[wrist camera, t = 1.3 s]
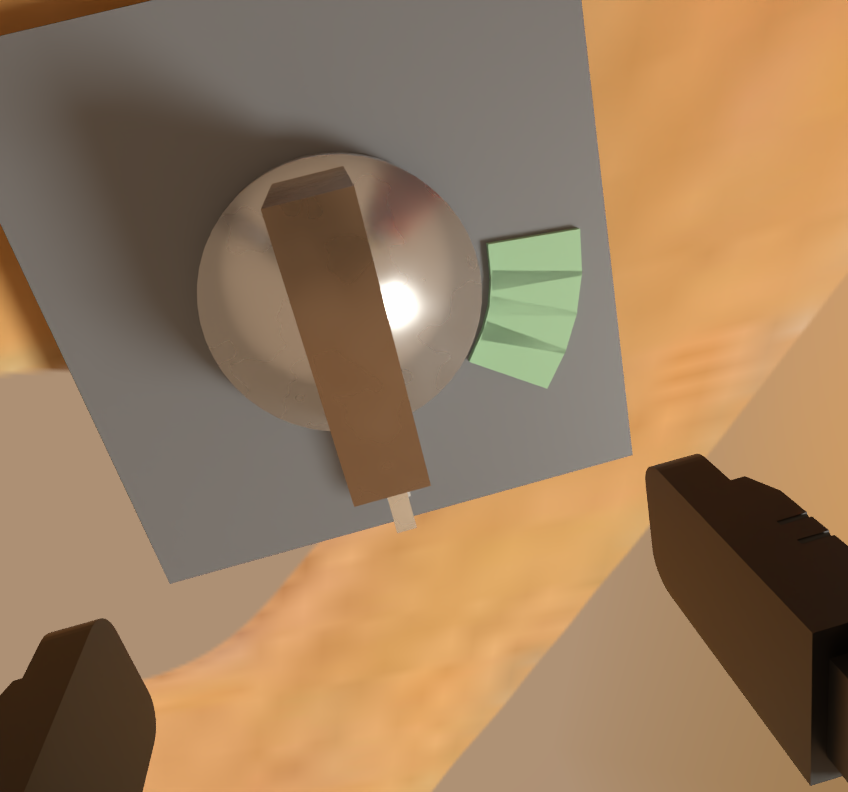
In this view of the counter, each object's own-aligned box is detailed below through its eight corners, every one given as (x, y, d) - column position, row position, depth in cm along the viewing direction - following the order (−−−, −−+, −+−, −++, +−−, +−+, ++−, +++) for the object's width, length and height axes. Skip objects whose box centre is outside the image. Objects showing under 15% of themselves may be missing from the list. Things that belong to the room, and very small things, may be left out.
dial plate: (177, 556, 32) (168, 588, 30) (-50, 58, 23) (-85, 54, 21) (614, 435, 33) (635, 457, 31) (550, -84, 24) (573, -101, 22)
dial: (160, 191, 24) (101, 227, 17) (443, 120, 24) (496, 128, 18) (287, 534, 30) (281, 663, 23) (512, 472, 30) (572, 579, 23)
